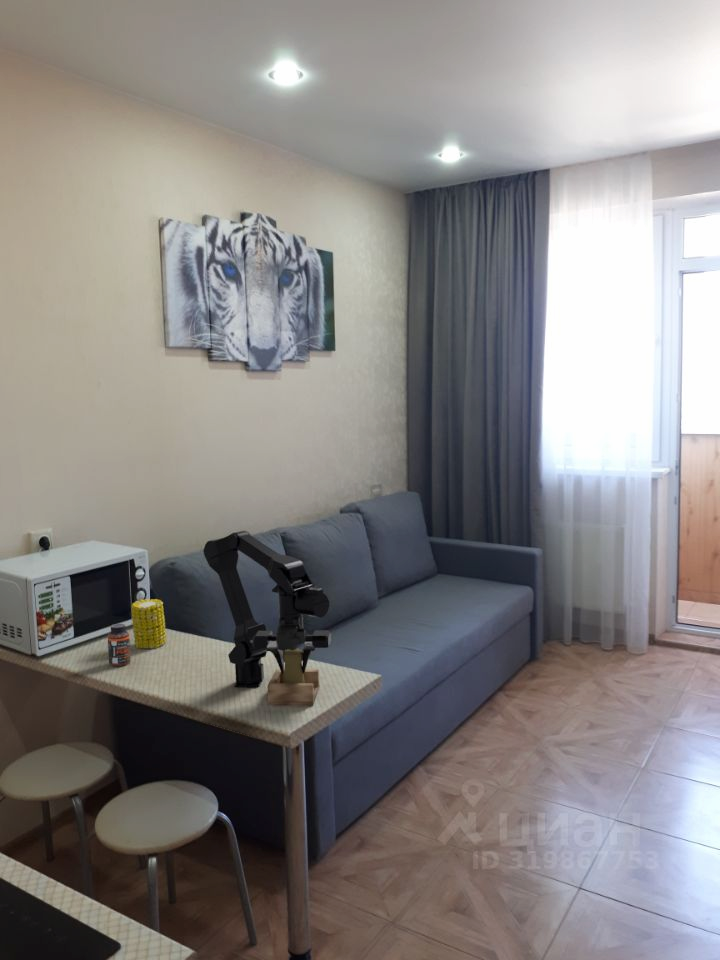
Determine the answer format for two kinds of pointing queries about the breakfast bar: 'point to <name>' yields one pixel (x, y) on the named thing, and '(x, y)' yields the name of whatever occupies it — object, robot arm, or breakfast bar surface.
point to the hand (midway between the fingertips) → (293, 672)
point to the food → (148, 623)
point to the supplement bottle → (119, 646)
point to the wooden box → (293, 690)
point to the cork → (293, 666)
